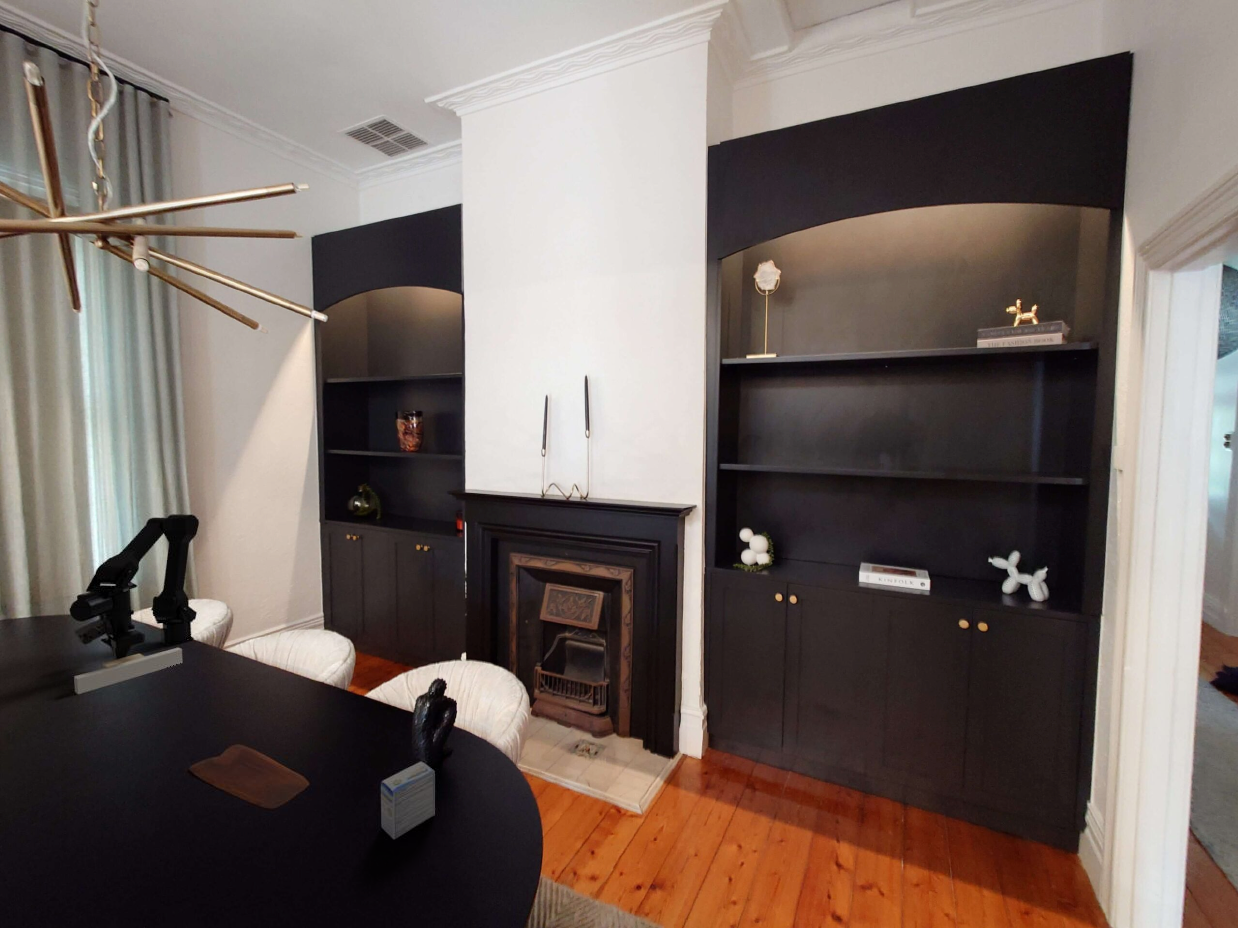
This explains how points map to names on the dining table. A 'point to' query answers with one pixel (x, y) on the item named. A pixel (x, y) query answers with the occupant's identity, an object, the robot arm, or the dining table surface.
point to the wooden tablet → (251, 776)
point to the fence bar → (126, 670)
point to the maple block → (122, 660)
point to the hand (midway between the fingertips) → (119, 663)
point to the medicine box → (407, 799)
